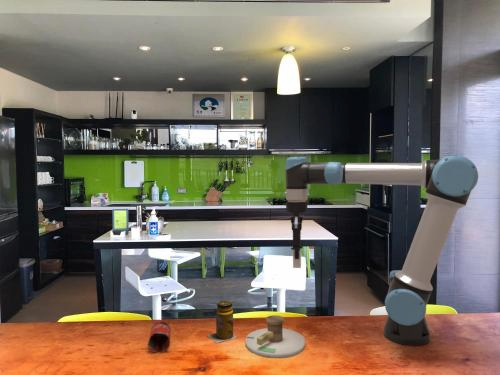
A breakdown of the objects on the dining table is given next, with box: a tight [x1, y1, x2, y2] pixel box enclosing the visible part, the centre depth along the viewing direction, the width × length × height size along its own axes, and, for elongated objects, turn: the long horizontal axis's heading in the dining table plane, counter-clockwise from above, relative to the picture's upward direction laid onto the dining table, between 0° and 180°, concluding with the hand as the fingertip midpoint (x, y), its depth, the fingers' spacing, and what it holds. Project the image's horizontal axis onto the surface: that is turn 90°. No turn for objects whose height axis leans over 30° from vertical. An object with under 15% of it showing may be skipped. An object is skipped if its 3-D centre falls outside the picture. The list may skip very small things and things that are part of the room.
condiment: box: [206, 300, 238, 344], centre depth 139 cm, size 7×8×12 cm
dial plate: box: [245, 327, 306, 359], centre depth 133 cm, size 20×20×2 cm
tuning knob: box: [257, 314, 285, 345], centre depth 130 cm, size 12×6×7 cm, turn 144°
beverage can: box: [147, 320, 172, 354], centre depth 132 cm, size 7×12×7 cm, turn 9°
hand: (297, 267), depth 139 cm, fingers closed
